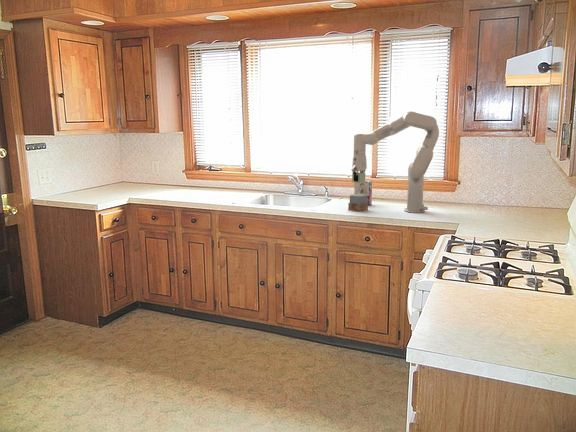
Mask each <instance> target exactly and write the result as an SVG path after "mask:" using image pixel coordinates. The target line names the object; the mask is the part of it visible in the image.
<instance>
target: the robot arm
mask: <svg viewBox="0 0 576 432" xmlns="http://www.w3.org/2000/svg"><path fill="white" fill-rule="evenodd" d="M409 127H413V128H417V129H421V130H424V135H423V138H422V140H421V142H420V145H419V146H418V148H417V149H416V152H415V153H416V154H415V155H416V156H415V158H414V159H413V162H411V163H410V164H409V165H408V169H407V177H408V178H407V197H406V198H407V200H406V201H407V202H406V208H404V212H406V213H410V214H411V213H413V214H415V213H416V214H418V213H419V214H420V213H425V212H426V211H428V210H429V207H428V206H425V204H423V203H424V182H425V180H424V179H425V178H424V176H425V175H426V173H427V170H428V169H429V166H430V164H431V163H432V160H433V159H434V158H433V157H434V148H435V147H436V144H437V142H438V139H439V135H440V128H439V125H438V123H437V119H436V117H433V116H432V115H427V114H424V113H423V114H422V113H418V112H416V111H407V112H405V113H403V114H402V115H400V116H398V117H396V118H394V119H392V120H390V121H389V122H387V123H385V124H383V125H382V126H381V127H378V128H376V129H375V130H373V131H371V132H369V133H365V132H355V133H354V135H353V157H352V168H351V172H352V173H353V175H354V181H358V172H360V173H365V174H366V171H367V168H368V167H367V165H368V164H367V162H368V161H367V155H366V149H367V147H366V146H367V145H370V146H374V145H375V144H377V143H378V142H380V141H382V140H384V139H386V138H388V137H391V136H394V135H396V134H398V133H400V132H402V131H404V130H405V129H408V128H409Z"/></svg>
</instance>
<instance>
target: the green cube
mask: <svg viewBox="0 0 576 432" xmlns="http://www.w3.org/2000/svg"><path fill="white" fill-rule="evenodd" d="M351 177H352V178H351V182H352V183H354V184H355V183H364V182H365V181H366V172H365V173H360V171H358V181H354V175H353V172H352V176H351Z"/></svg>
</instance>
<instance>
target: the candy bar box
mask: <svg viewBox="0 0 576 432" xmlns="http://www.w3.org/2000/svg"><path fill="white" fill-rule="evenodd" d="M354 194H362V195H367V203H368V207H369V206H371V205H372V203H373V202H372V201H373V198H372V197H373V195H372V194H373V181H372V180H365V182H364V183H354Z"/></svg>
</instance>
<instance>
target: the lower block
mask: <svg viewBox="0 0 576 432" xmlns="http://www.w3.org/2000/svg"><path fill="white" fill-rule="evenodd" d="M347 205H348V207H347V208H348V209H347V210H348V211H350V212H356V213H357V212H359V213H362V212H365V210H366V211H368V210H369V206H368V203H364V204H354V203H350V202H348V204H347Z"/></svg>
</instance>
